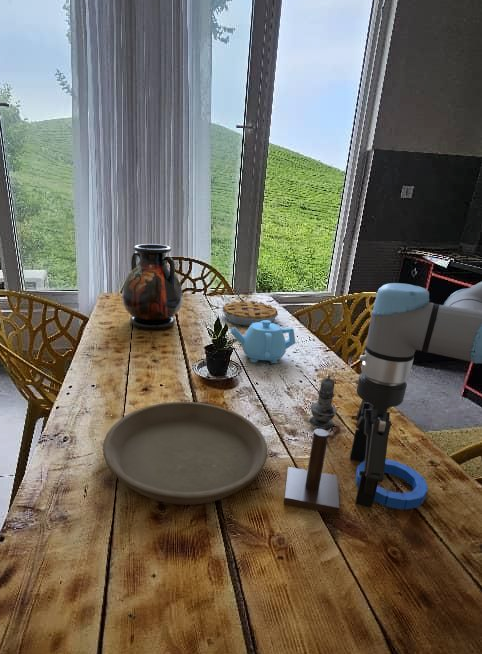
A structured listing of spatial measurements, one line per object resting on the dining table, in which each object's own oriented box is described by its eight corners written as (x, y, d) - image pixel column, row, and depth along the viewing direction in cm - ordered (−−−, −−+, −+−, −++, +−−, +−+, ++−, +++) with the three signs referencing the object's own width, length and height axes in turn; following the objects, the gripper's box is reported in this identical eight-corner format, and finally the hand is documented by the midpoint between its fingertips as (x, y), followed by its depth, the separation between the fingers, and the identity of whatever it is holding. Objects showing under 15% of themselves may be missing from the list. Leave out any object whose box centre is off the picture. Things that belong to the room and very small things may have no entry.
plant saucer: (240, 539, 68) (242, 515, 66) (69, 486, 77) (67, 464, 76) (279, 437, 95) (281, 418, 93) (149, 407, 105) (149, 390, 103)
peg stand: (336, 482, 82) (347, 423, 77) (338, 515, 74) (351, 451, 69) (286, 473, 84) (295, 415, 79) (283, 504, 76) (292, 442, 71)
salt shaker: (314, 413, 106) (321, 367, 101) (338, 421, 102) (346, 374, 98) (304, 423, 101) (311, 375, 97) (328, 432, 98) (337, 383, 93)
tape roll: (417, 473, 85) (419, 464, 85) (431, 515, 75) (434, 505, 74) (353, 462, 88) (355, 453, 87) (358, 501, 77) (360, 492, 76)
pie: (217, 310, 183) (218, 298, 181) (269, 310, 185) (270, 299, 184) (226, 327, 163) (227, 314, 161) (284, 327, 165) (285, 314, 163)
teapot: (288, 348, 145) (292, 314, 140) (298, 369, 129) (303, 331, 125) (227, 346, 145) (229, 311, 140) (229, 366, 129) (232, 328, 125)
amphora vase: (110, 324, 160) (107, 245, 149) (149, 312, 177) (149, 240, 166) (156, 338, 149) (156, 254, 138) (193, 323, 165) (196, 247, 155)
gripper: (354, 348, 86) (336, 441, 94) (367, 408, 64) (342, 523, 72) (395, 353, 85) (373, 447, 93) (423, 416, 62) (391, 533, 70)
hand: (359, 480), depth 82 cm, fingers open, 13 cm apart
